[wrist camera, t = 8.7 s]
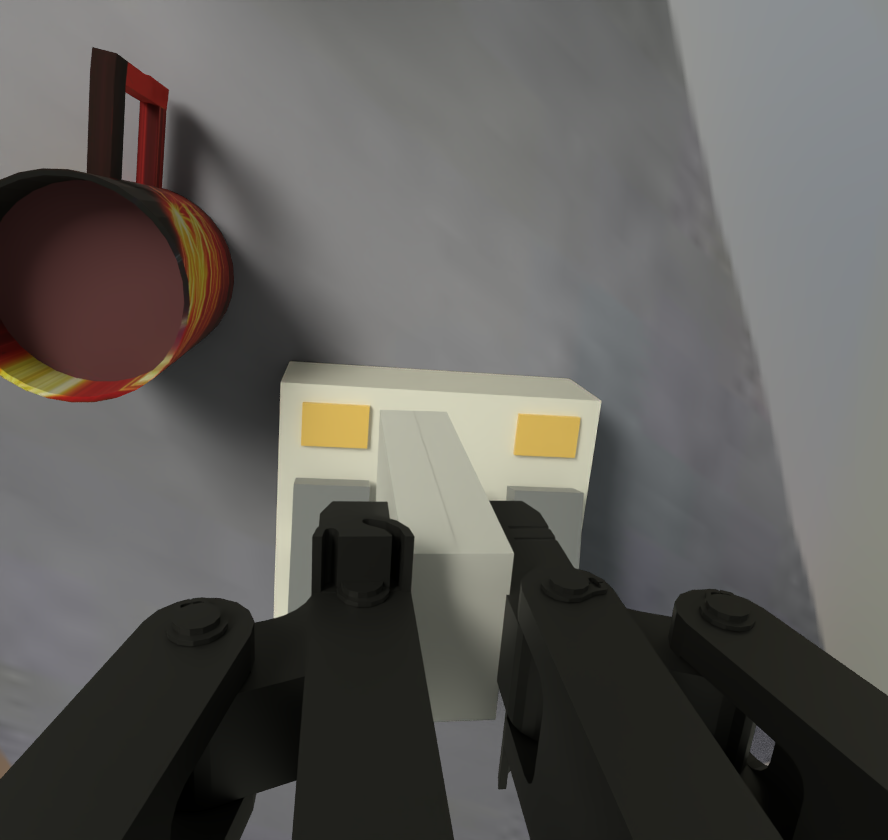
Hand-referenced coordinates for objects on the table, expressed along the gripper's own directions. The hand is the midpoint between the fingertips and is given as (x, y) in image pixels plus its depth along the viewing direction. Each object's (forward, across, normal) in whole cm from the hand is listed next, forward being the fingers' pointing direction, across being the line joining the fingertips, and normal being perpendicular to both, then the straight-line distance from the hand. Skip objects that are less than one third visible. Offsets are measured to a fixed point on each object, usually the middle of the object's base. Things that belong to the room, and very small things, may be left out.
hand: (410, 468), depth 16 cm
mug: (+29, -14, +3) cm, 32 cm away
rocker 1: (+20, -2, -13) cm, 24 cm away
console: (+28, +4, -13) cm, 31 cm away
